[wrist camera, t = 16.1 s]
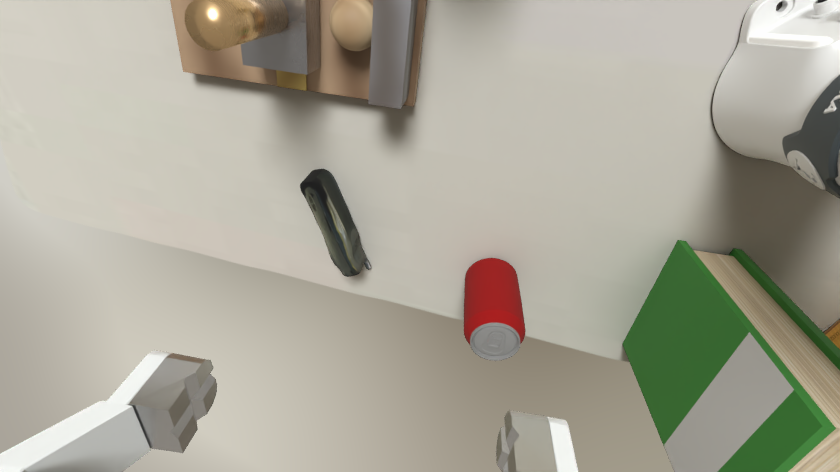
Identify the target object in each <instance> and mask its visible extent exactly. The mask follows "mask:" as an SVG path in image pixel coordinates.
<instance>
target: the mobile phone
mask: <svg viewBox="0 0 840 472" xmlns="http://www.w3.org/2000/svg"><path fill="white" fill-rule="evenodd" d="M300 188H301V191H302V193H303V195H304V196H305V198H306V200H307V202H308V204H309V206H310V208H311V210H312V212H313V214H314V217H315V219H316V221H317V223H318V225H319V227H320V229H321V231H322V234H323V236H324V239H325V242H326V245H327V248H328V251H329V254H330V257H331V259H332V261H333V263H334V264H335V265H336V266H337V267H338V268H339V269H340V271H341V272H342V274H343V275H344V276H347V277H348V276H354V275H357V274H359V273H360V271H361V269H362V266H363V263H364V264H365V266H366V268H367V269H368V270H369V269H371V265H370V263H369V261H368V259H367V258H366V256H365V253H364V251H363V249H362V247H361V244H360V242H359V235H358V232H357V229H356V227H355V225H354V223H353V221H352V219H351V216H350V213H349V211H348V208H347V205H346V203H345V201H344V199H343V197H342V195H341V192H340V190H339V187H338V185H337V183H336V181H335V179H334V177H333V175H332V174H331V173H330V172H329V171H327V170H325V169H317V170H313V171H312V172H311V173H310V174H309V175H308V176H307V178H306V179H305V180H304V181H303V182H302V183H301V184H300Z"/></svg>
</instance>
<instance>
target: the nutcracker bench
mask: <svg viewBox="0 0 840 472" xmlns="http://www.w3.org/2000/svg"><path fill="white" fill-rule="evenodd" d="M170 1H171V7H172V12H173V18H174V23H175V29H176V34H177V40H178V45H179V51H180V56H181V62H182V67H183V72H189V73H196V74H202V75H209V76H215V77H222V78H229V79H235V80H242V81H248V82H255V83H262V84H268V85H275V86H278V87H284V88H291V89H298V90H304V91H307V90H308V91H314V92H321V93H328V94H334V95H341V96H347V97H354V98H361V99H367V100H368V104H371V105H378V106H385V107H391V108H398V109H401V108H402V106H403V105H407V106H414V104H415V102H416V93H417V84H418V75H419V66H420V57H421V48H422V39H423V30H424V21H425V12H426V3H427V0H319V2H320V68H318V69H316V70H315V71H313V72H311V73H310V74H308V75H306V74H299V73H292V72H286V71H279V70H272V69H266V68H259V67H252V66H246V65H243V62H242V52H241V44H240V45H236V46H233V47H229V48H226V49H222V50H219V51H209V50H206V49H204V48H202V47H200V46H199V45H198V44H196V43H195V42H194V40H193V39H192V38H191V36H190V35H189V33H188V31H187V28H186V25H185V11H186V8H187V6H188V5H189V4H190V3H191V2H192V1H194V0H170Z"/></svg>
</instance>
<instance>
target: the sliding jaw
mask: <svg viewBox="0 0 840 472" xmlns="http://www.w3.org/2000/svg"><path fill="white" fill-rule="evenodd" d="M185 25H186V28H187V31H188V33H189V35H190V36H191V38H192V39H193V40H194V42H195V43H196V44H198V45H199V46H200V47H202V48H204V49H206V50H209V51H219V50H222V49H226V48H229V47H233V46H236V45H240V44H241V52H242V62H243V65H246V66H252V67H259V68H266V69H272V70H279V71H286V72H292V73H299V74H306V75H308V74H310V73H311V72H313V71H315V70H316V69H318V68H320V2H319V0H194V1H192V2H191V3H190V4H189V5H188V6H187V8H186V11H185Z"/></svg>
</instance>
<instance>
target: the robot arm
mask: <svg viewBox="0 0 840 472" xmlns="http://www.w3.org/2000/svg"><path fill="white" fill-rule="evenodd" d="M781 1H782V7H781V8H780V9H779V10H778V11H776V6H777V4H778V3H779V2H781ZM712 114H713V121H714V125H715V128H716V131H717V133H718V135H719V136H720V138H721V139H722V141H723V142H724V143H725V144H726V145H727V146H728V147H730V148H731V149H732V150H734V151H736V152H737V153H739V154H742V155H744V156H748V157H752V158H758V159H766V160H771V161H775V162H778V163H781V164H784V165H787V166H790V167H792V168H793V169H794V170H795V171H796V172H797V173H798V174H799V175H801V176H802V177H803V178H805V179H806V180H807V181H809V182H810V183H812V184H813V185H815V186H817V187H818V188H820V189H822V190H826V191H828V192H830V193H831V194H833V195H835V196H837V197H839V198H840V0H757V1H756V2H754V3H753V4H752V5H751V6H750V8H749V9H748V11H747V12H746V15H745V17H744V20H743V24H742V28H741V33H740V38H739V43H738V45H737V48H736V50H735V52H734V53H733V55H732V57H731V58H730V60H729V62H728V63H727V65H726V67H725V68H724V70H723V72H722V74H721V76H720V78H719V81H718V84H717V86H716V90H715V93H714V98H713V106H712ZM212 370H213V366H212V362H211V360H206V359H200V358H195V357H190V356H184V355H179V354H174V353H169V352H163V351H158V350H154V351H152V352H150V353H149V354H147V355H146V356H145V357H144V359H143V360H142V361H141V362H140V363H139V364H138V366H137V367H136V368H135V369H134V370H133V371H132V372H131V374H130V375H129V376H128V377H127V378H126V379H125V380H124V382H123V383H122V384H121V385H120V386H119V388H118V389H117V390H116V391H115V392H114V393H113V394H112V395H111V397H110V398H109V399H108V400H107V401H102V400H101V401H99V402H97V403H95V404H93V405H92V406H90V407H88V408H86V409H84V410H82V411H80V412H78V413H77V414H74V415H72V416H71V417H69V418H67V419H65V420H63V421H61V422H59V423H57V424H56V425H54V426H52V427H50V428H48V429H46V430H44V431H42V432H40V433H39V434H37V435H35V436H33V437H31V438H29V439H27V440H25V441H23V442H22V443H20V444H18V445H16V446H14V447H12V448H10V449H9V450H7V451H5V452H3V453H1V454H0V472H123V471H124V470H126V469H127V468H128V467H130V466H131V465H132V464H134V463H135V462H136V461H138V460H139V459H140V458H141V457H143V456H144V455H145V454H147V453H148V452H149V451H151V449H150V448H152V449H159V450H166V451H173V452H180V453H183V452H184V451H185V449H186V447H187V446H188V444H189V442H190V441H191V439H192V438H193V436H194V434H195V433H196V431H197V420H198V419H200V418H201V417H203V416H205V415H206V414H207V413H208V411H209V409H210V408H211V406H212V404H213V402H214V399H215V396H216V392H217V383H216V379H215V378H214V377H213V376H212V375H211V374H210V373H211V371H212ZM496 456H497V465H498V467H499V468H500V470H501V471H502V472H579V471H578V467H577V462H576V458H575V453H574V449H573V444H572V440H571V435H570V431H569V426H568V423H567V422H566V420H564V419H559V418H552V417H545V416H544V415H537V414H530V413H524V412H517V411H511V410H509V411H508V412H507V413H506V416H505V426H503V427H501V429H500V432H499V435H498V440H497V453H496Z"/></svg>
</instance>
